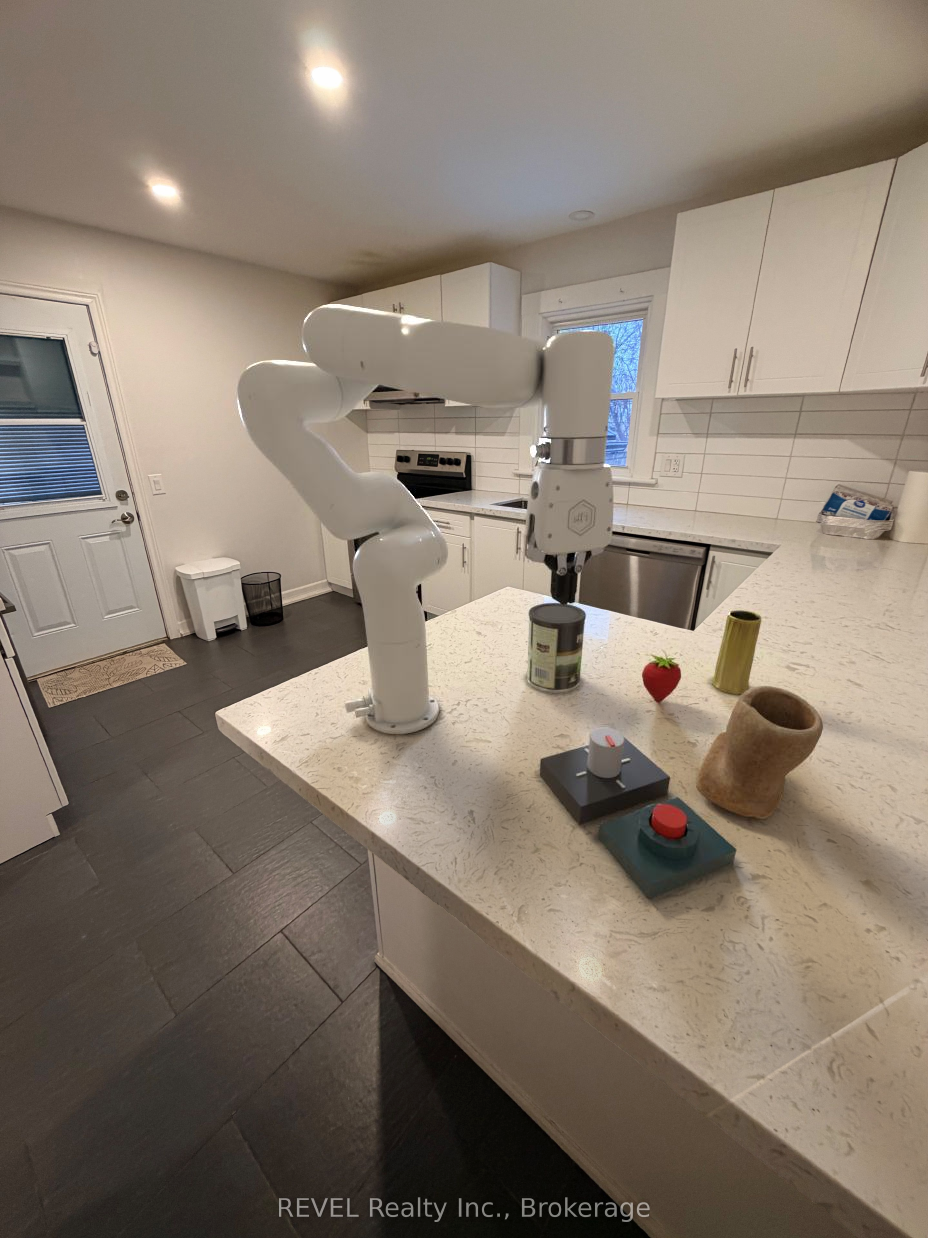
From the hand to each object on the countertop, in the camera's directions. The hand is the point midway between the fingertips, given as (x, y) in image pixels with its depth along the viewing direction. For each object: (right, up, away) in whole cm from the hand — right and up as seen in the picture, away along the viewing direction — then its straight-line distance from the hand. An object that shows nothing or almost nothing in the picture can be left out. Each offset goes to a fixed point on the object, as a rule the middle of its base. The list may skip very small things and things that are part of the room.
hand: (562, 600), depth 65 cm
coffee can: (+4, -14, +31) cm, 34 cm away
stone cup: (+26, -26, +3) cm, 37 cm away
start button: (+10, -26, -8) cm, 30 cm away
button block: (+11, -30, -7) cm, 32 cm away
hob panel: (+6, -26, +4) cm, 27 cm away
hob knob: (+6, -23, +3) cm, 24 cm away
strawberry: (+21, -17, +23) cm, 36 cm away
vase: (+37, -15, +28) cm, 48 cm away
